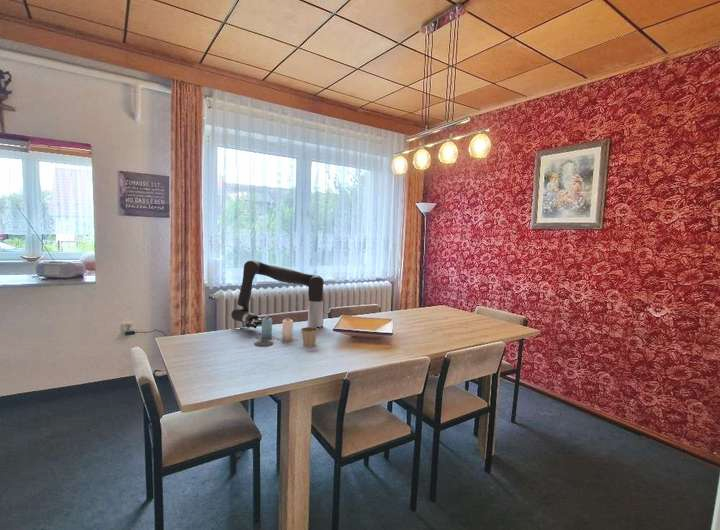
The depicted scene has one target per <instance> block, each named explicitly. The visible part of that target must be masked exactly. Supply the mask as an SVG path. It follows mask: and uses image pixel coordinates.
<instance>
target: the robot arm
mask: <svg viewBox="0 0 720 530" xmlns="http://www.w3.org/2000/svg"><path fill="white" fill-rule="evenodd" d="M242 273H243V274H242V281H241V288H240V289H239V295H238V298H237V305H238V306H240V307H243V308H234V309H233V310H232V311H231V318H232V319H233V321H237V322H241V323H243V324H244V326H245V328H253V329H257V327H259V326H261V327H262V318H260V317H259V315H257V314H254V313H252V312H250V311H249V310H250V301H251V295H252V286H253V282H254V279H255V276H256V275H258V276H259V275H260V276H265V277H268V278H271V279H273V280H275V281H278V282H280V283H286V284H293V285H297V284H298V285H304V286H307V287H308V293H307V294H308V295H307V297H308V305H307V307H308V310H307V327H314V328H317V327H320V328H322V327H324V311H323V309H324V308H323V303H324V301H323V300H324V285H325V284H324V283H325V282H324V278H323V277H322V276H320V275H317V274H310V273H303V272H300V271H297V270H296V269H295V270H294V269H291V268H287V267H284V266H276V265H271V264H266V263H264V262H260V261H259V260H255V259H251V260H247V261H246V262H245V263H244V265H243V272H242ZM321 326H322V327H321ZM317 329H318V328H317Z"/></svg>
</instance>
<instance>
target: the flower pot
mask: <svg viewBox="0 0 720 530" xmlns="http://www.w3.org/2000/svg"><path fill="white" fill-rule="evenodd" d="M300 331H301V334H302V343H303V345H304V346H308V347H309V346H310V347H312V346H315V345H316V339H317V334H318V331H319V328H314V327H308V326H307V327H306V326H305V327H302V328H300Z"/></svg>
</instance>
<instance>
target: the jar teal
mask: <svg viewBox="0 0 720 530" xmlns="http://www.w3.org/2000/svg"><path fill="white" fill-rule="evenodd" d="M261 319H262V326H261V336H262V339H271V338H272V336H273V318H272V317H269V316H265V317H263V318H261Z"/></svg>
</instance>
